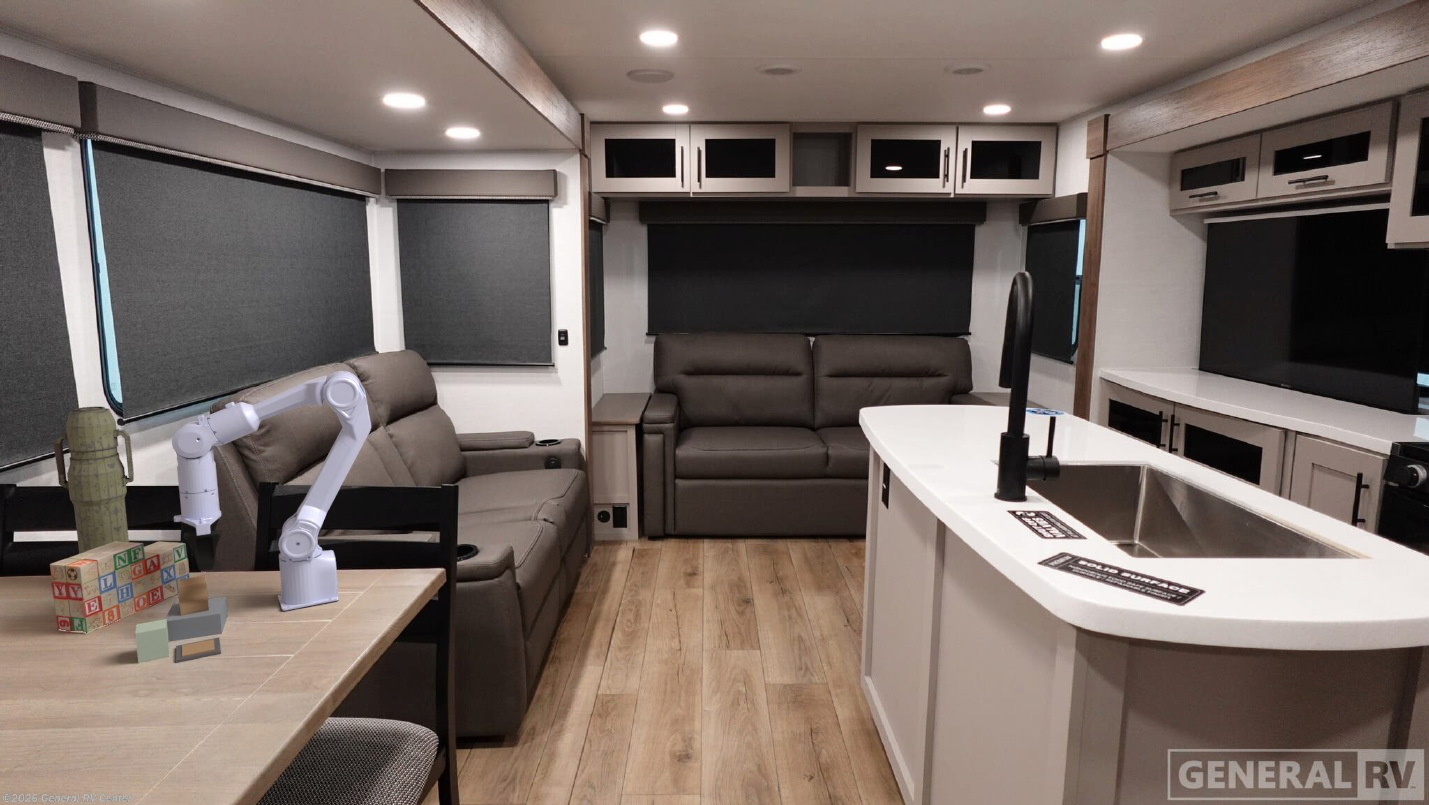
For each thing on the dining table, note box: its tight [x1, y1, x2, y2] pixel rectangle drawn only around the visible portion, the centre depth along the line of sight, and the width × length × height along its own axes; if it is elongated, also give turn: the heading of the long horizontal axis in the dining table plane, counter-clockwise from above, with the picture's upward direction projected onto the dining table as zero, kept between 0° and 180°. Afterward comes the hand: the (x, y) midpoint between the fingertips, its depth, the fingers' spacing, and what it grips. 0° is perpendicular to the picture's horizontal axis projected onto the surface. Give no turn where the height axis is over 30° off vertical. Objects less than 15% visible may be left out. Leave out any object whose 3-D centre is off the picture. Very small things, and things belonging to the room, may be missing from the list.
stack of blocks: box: [49, 541, 190, 633], centre depth 146 cm, size 21×6×12 cm, turn 169°
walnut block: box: [177, 575, 209, 616], centre depth 137 cm, size 4×4×5 cm
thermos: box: [52, 406, 135, 554], centre depth 156 cm, size 9×12×35 cm
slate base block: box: [165, 596, 229, 642], centre depth 138 cm, size 8×8×4 cm
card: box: [175, 637, 222, 664], centre depth 130 cm, size 6×6×1 cm
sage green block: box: [134, 619, 170, 664], centre depth 128 cm, size 4×4×5 cm
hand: (205, 563), depth 143 cm, fingers open, 7 cm apart
